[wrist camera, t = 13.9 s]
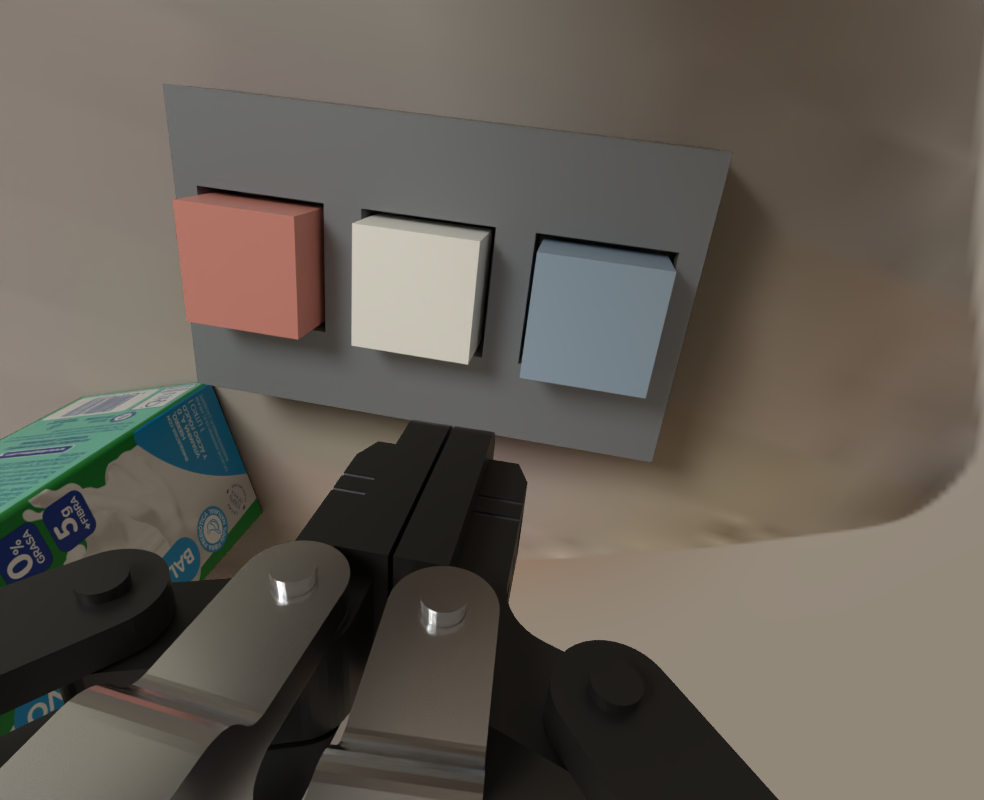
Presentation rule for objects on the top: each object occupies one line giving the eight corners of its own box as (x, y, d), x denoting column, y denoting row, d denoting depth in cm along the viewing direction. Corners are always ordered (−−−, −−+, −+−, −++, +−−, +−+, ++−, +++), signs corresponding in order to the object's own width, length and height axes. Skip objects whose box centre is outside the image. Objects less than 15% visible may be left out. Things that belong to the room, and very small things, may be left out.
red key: (216, 191, 26) (172, 199, 23) (326, 207, 25) (293, 216, 23) (226, 302, 28) (187, 321, 25) (327, 318, 28) (298, 339, 25)
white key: (378, 212, 25) (351, 223, 23) (492, 228, 25) (479, 241, 22) (375, 324, 28) (351, 345, 25) (481, 340, 27) (468, 364, 24)
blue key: (543, 238, 24) (536, 252, 22) (667, 255, 24) (676, 271, 21) (527, 352, 26) (519, 377, 24) (640, 370, 26) (645, 398, 23)
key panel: (220, 89, 27) (162, 83, 23) (713, 148, 25) (732, 152, 21) (242, 354, 33) (197, 383, 29) (645, 422, 30) (651, 462, 27)
